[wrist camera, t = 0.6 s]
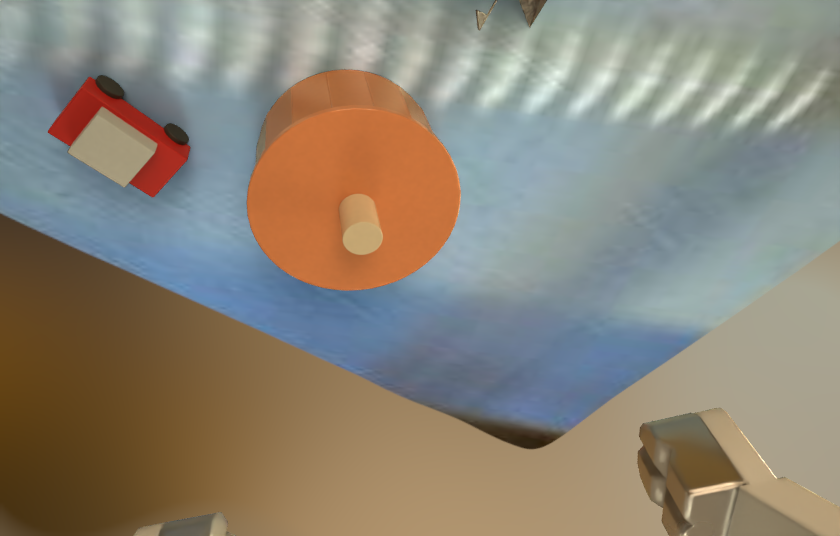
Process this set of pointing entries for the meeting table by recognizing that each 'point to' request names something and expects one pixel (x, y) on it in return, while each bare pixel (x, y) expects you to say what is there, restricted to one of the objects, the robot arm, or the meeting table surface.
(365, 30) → the meeting table surface
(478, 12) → the paper boat
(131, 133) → the car
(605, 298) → the meeting table surface
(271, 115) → the pot
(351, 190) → the lid
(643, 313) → the meeting table surface
